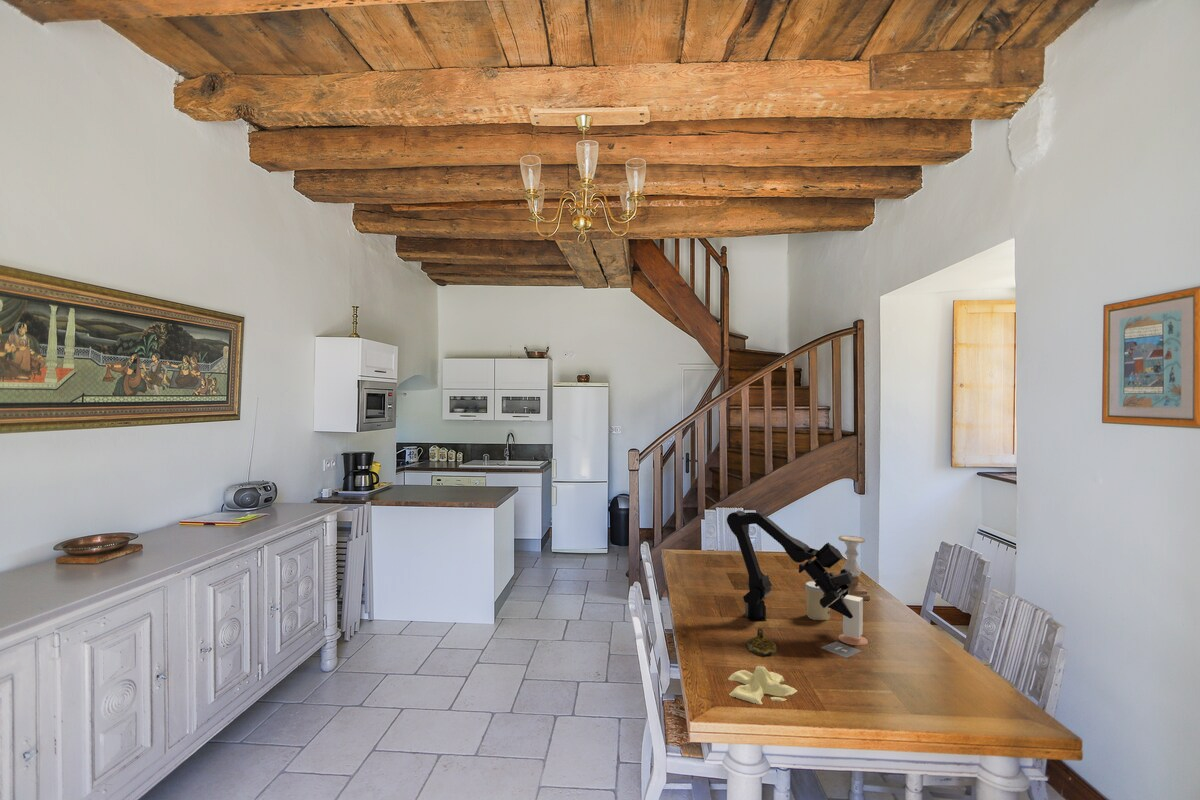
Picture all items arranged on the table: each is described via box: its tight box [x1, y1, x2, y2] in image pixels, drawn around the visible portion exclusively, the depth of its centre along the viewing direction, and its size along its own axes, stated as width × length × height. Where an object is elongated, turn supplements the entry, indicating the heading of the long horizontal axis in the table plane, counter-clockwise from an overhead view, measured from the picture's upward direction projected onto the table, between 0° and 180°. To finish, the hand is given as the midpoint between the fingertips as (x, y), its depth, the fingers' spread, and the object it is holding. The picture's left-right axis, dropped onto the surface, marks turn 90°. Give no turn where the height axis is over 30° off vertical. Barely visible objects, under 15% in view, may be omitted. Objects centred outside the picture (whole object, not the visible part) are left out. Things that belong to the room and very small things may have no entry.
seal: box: [746, 627, 778, 657], centre depth 185 cm, size 9×5×15 cm
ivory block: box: [842, 595, 864, 638], centre depth 191 cm, size 5×5×12 cm
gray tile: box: [820, 641, 862, 659], centre depth 183 cm, size 9×9×1 cm
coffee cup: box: [804, 580, 831, 621], centre depth 213 cm, size 9×9×12 cm
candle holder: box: [838, 535, 871, 601], centre depth 239 cm, size 11×11×24 cm
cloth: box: [727, 665, 798, 705], centre depth 158 cm, size 22×19×6 cm
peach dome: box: [838, 633, 869, 646], centre depth 191 cm, size 9×9×1 cm
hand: (853, 615), depth 191 cm, fingers closed on ivory block, 5 cm apart
